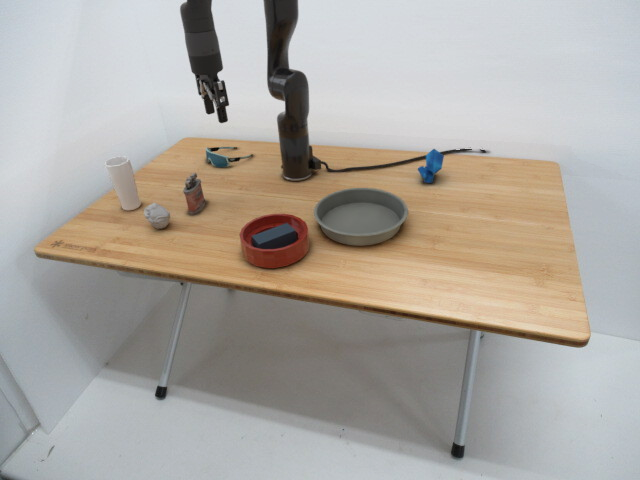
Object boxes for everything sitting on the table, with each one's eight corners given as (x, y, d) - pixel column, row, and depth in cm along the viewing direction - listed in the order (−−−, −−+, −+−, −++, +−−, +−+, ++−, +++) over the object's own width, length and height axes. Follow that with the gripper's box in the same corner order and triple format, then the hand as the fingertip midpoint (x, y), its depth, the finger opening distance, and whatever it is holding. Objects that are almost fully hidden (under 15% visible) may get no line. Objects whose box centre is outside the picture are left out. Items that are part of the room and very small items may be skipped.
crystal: (417, 167, 135) (419, 142, 143) (416, 189, 141) (418, 164, 149) (443, 168, 133) (444, 143, 141) (441, 190, 140) (442, 165, 148)
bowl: (289, 224, 126) (287, 207, 123) (321, 253, 114) (320, 234, 111) (232, 245, 119) (229, 227, 116) (261, 278, 108) (257, 259, 104)
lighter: (197, 215, 133) (189, 184, 128) (186, 214, 134) (178, 183, 128) (208, 201, 140) (201, 171, 134) (197, 200, 140) (190, 170, 135)
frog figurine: (158, 219, 133) (151, 198, 129) (178, 223, 130) (172, 201, 126) (143, 230, 128) (136, 208, 124) (164, 234, 126) (157, 212, 122)
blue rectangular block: (288, 237, 120) (287, 222, 118) (297, 244, 117) (295, 230, 114) (253, 250, 116) (251, 235, 114) (261, 259, 113) (259, 244, 110)
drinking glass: (148, 203, 141) (134, 157, 133) (132, 214, 136) (116, 167, 128) (131, 199, 144) (116, 154, 135) (115, 210, 139) (98, 164, 130)
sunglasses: (198, 159, 165) (197, 146, 163) (234, 152, 174) (233, 138, 172) (220, 171, 156) (219, 156, 154) (256, 162, 165) (256, 148, 163)
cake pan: (420, 242, 116) (421, 226, 113) (323, 256, 113) (322, 241, 111) (391, 195, 136) (392, 181, 133) (308, 207, 133) (307, 193, 131)
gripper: (230, 52, 106) (242, 121, 115) (207, 43, 116) (219, 107, 125) (199, 59, 103) (213, 129, 112) (178, 48, 113) (193, 114, 122)
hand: (216, 117), depth 118 cm, fingers open, 8 cm apart
